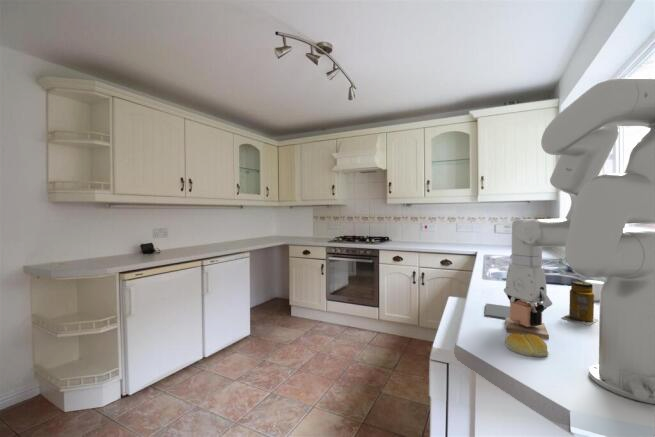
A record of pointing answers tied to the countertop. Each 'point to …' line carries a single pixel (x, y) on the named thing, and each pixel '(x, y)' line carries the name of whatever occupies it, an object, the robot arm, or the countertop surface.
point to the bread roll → (527, 345)
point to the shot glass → (596, 288)
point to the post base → (526, 329)
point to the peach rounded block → (521, 312)
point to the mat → (497, 311)
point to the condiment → (581, 303)
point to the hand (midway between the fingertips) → (525, 320)
